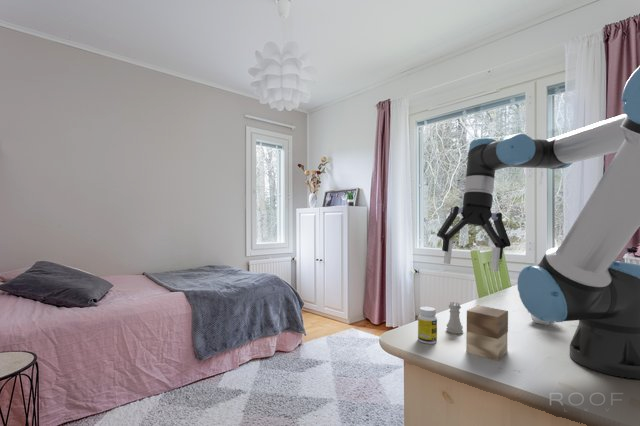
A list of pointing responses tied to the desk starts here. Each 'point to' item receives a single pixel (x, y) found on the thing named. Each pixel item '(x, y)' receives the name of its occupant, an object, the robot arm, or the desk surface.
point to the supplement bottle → (427, 325)
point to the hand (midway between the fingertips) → (470, 267)
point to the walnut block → (487, 321)
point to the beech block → (486, 345)
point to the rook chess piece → (454, 319)
